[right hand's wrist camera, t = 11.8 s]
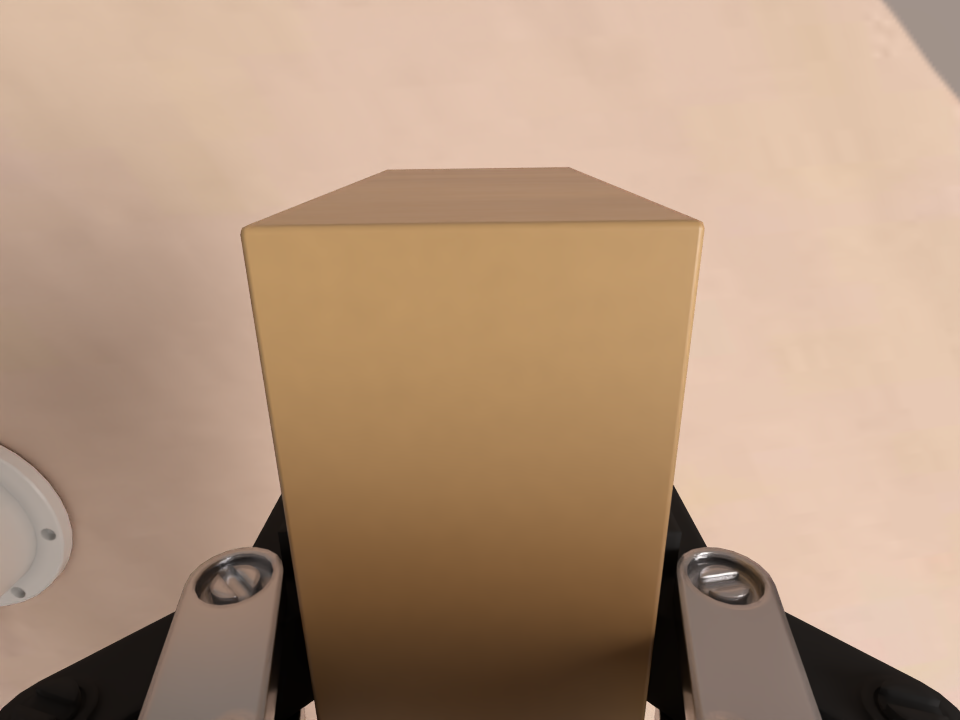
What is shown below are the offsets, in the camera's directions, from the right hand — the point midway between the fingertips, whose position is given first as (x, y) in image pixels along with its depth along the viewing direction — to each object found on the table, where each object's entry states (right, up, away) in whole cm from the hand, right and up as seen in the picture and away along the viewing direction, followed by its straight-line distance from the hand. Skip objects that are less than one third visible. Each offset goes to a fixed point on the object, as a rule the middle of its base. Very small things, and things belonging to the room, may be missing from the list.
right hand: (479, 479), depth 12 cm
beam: (0, -23, +13) cm, 27 cm away
